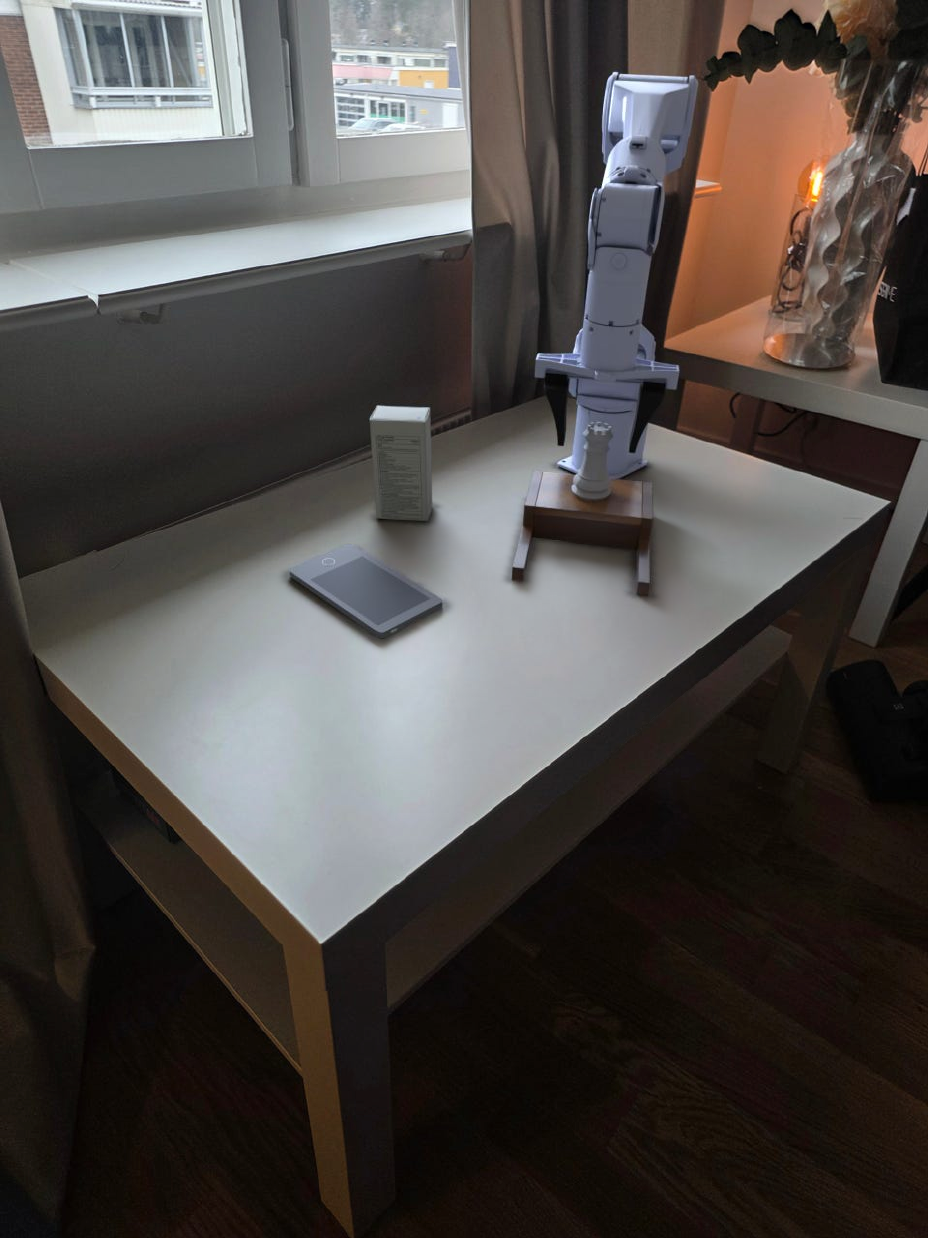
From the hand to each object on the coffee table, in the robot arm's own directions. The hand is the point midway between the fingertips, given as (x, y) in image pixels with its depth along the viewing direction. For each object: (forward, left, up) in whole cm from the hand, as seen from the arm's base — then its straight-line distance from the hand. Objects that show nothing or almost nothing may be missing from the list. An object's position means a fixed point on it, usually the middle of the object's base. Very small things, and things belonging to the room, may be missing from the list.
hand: (596, 445), depth 91 cm
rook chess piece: (0, 0, -6) cm, 6 cm away
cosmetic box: (+14, -16, -10) cm, 24 cm away
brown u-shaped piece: (+4, +3, -10) cm, 11 cm away
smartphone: (+28, -6, -10) cm, 30 cm away
